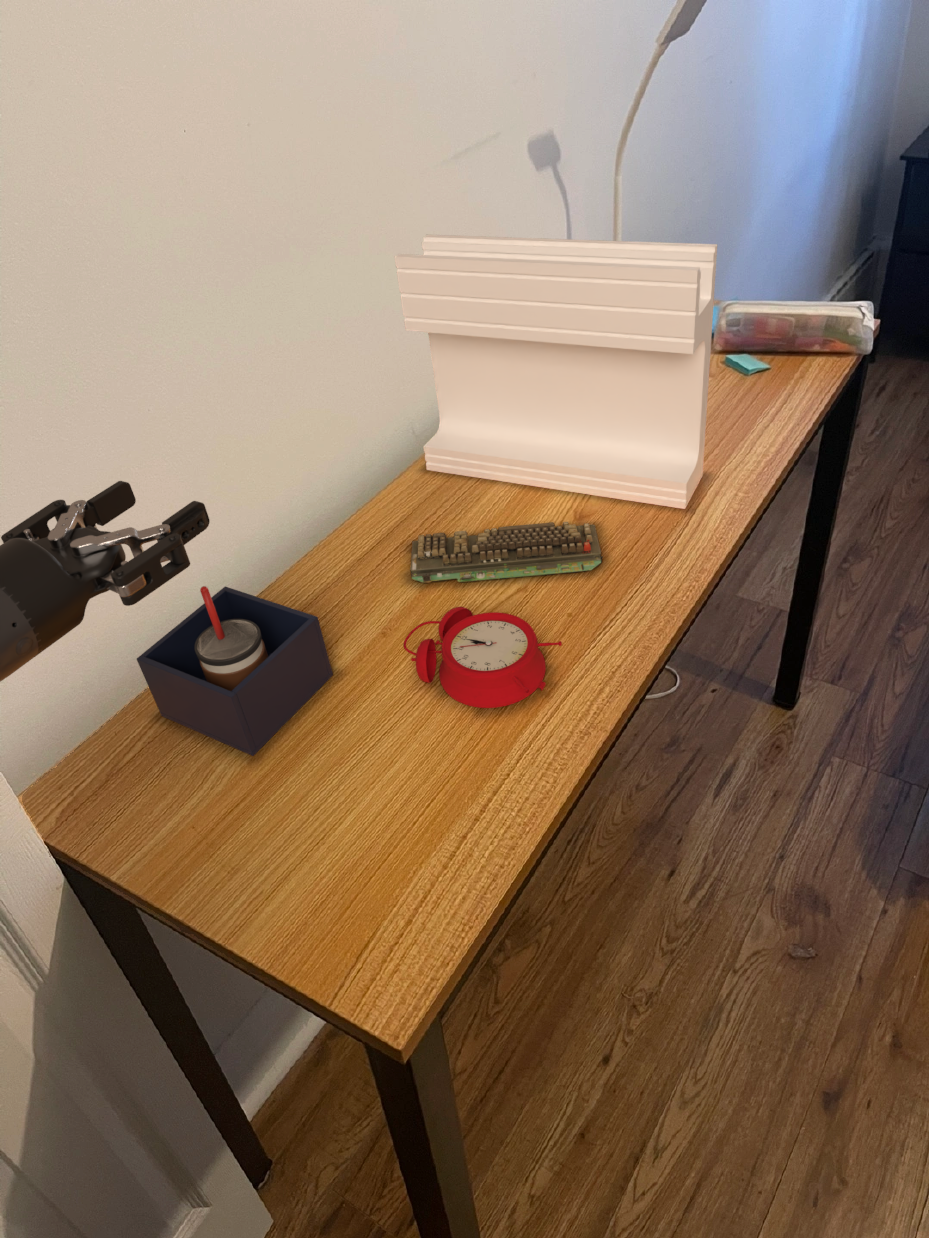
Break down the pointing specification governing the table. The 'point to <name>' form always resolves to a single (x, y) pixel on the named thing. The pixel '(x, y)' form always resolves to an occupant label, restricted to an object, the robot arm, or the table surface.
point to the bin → (262, 694)
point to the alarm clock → (483, 658)
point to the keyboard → (506, 553)
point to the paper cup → (228, 648)
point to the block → (567, 361)
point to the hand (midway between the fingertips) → (165, 500)
